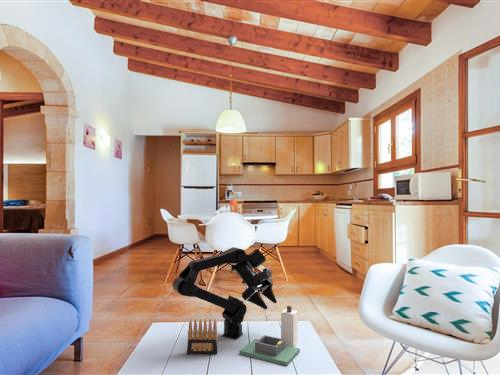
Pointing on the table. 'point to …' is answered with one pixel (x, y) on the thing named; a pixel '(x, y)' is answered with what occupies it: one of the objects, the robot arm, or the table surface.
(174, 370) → the table surface
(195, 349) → the ammunition clip
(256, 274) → the robot arm
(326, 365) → the table surface
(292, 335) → the plug block
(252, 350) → the header board
